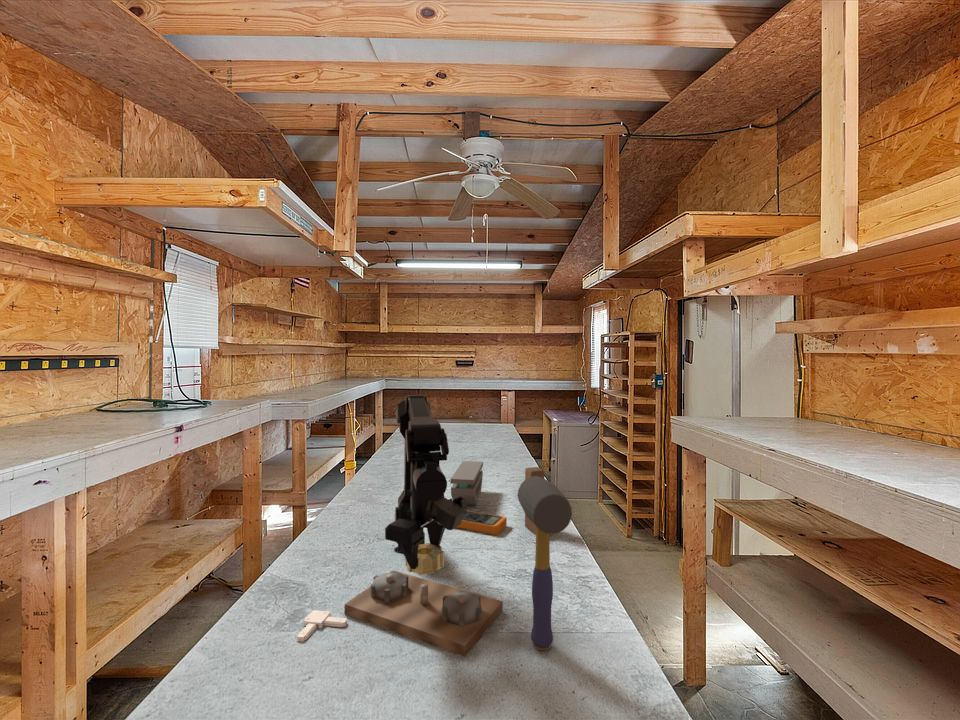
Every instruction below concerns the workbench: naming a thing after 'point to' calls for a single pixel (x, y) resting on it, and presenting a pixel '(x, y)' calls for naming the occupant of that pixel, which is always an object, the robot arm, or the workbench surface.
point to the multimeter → (483, 523)
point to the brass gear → (428, 559)
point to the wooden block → (528, 473)
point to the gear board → (426, 611)
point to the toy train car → (467, 481)
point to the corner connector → (319, 623)
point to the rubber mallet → (543, 548)
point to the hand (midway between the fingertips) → (424, 560)
